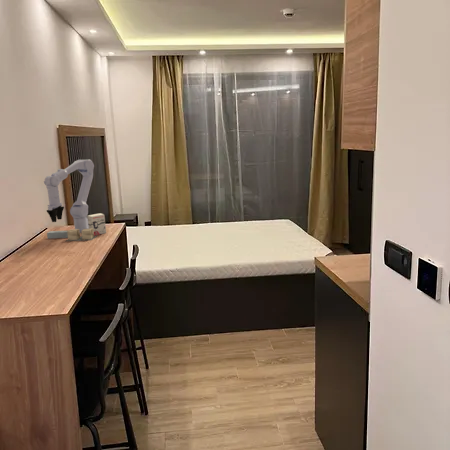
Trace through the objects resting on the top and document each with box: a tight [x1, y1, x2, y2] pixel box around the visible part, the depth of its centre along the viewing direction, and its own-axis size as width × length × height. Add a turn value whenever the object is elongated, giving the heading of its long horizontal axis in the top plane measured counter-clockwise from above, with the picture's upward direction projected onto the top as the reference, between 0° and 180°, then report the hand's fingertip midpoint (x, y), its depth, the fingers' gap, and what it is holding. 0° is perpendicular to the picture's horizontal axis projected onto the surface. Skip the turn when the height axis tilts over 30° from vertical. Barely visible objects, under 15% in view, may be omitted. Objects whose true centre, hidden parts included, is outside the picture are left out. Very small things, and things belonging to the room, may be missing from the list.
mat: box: [65, 235, 98, 242], centre depth 244 cm, size 11×15×1 cm
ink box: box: [87, 212, 107, 236], centre depth 253 cm, size 8×5×12 cm, turn 134°
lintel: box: [46, 230, 68, 240], centre depth 249 cm, size 12×4×4 cm, turn 88°
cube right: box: [81, 228, 95, 240], centre depth 242 cm, size 5×5×5 cm
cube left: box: [66, 228, 81, 240], centre depth 243 cm, size 5×5×5 cm
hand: (57, 220), depth 247 cm, fingers open, 7 cm apart
